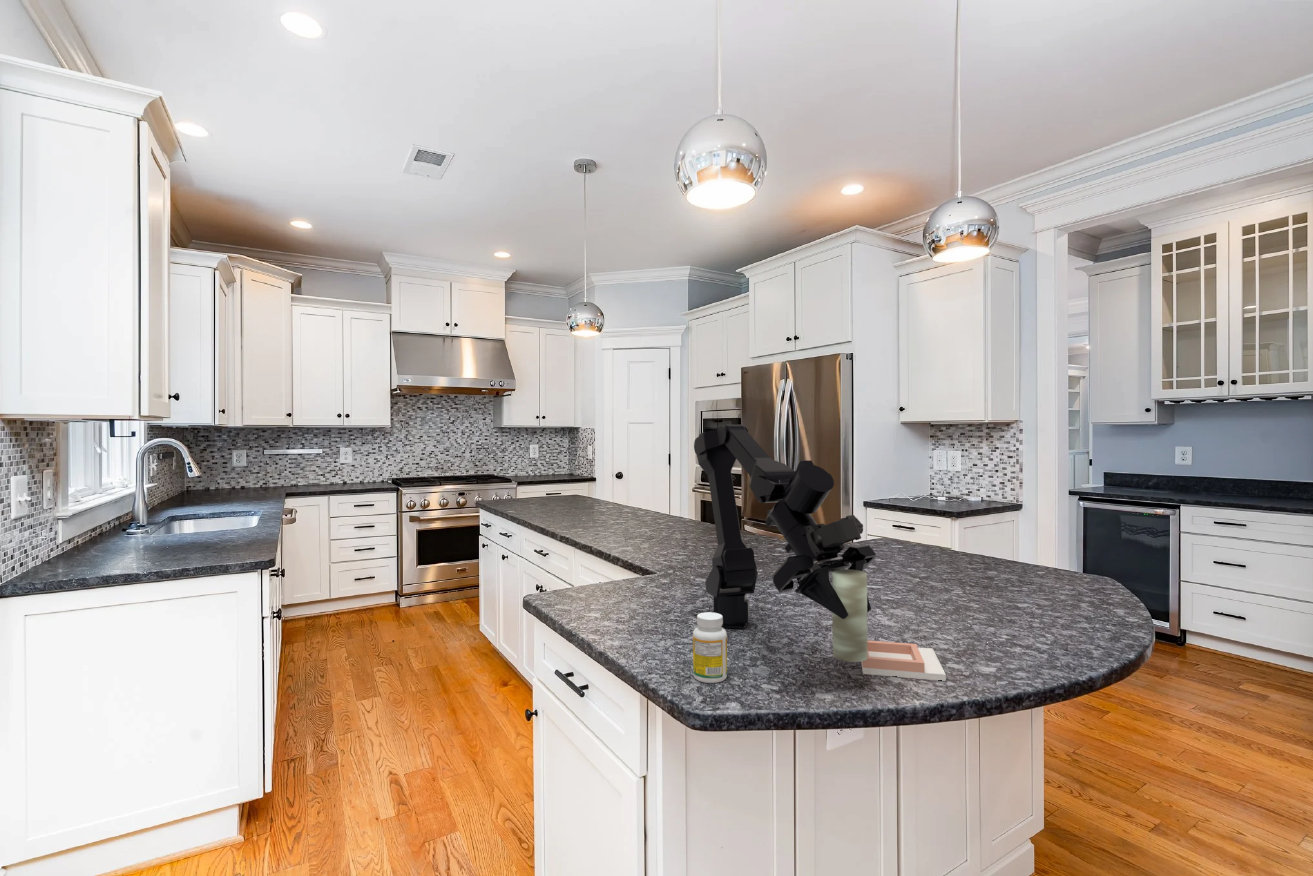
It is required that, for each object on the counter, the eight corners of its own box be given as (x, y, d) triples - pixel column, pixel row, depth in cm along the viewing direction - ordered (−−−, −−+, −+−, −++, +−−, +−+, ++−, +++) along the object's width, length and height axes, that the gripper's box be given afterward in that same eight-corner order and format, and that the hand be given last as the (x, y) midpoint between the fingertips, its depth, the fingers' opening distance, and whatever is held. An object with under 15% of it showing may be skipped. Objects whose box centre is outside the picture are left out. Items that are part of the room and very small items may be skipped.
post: (833, 660, 91) (832, 575, 91) (832, 649, 96) (831, 568, 96) (868, 663, 90) (868, 577, 90) (866, 651, 95) (865, 570, 95)
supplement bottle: (714, 686, 93) (713, 623, 93) (685, 678, 96) (685, 616, 96) (734, 676, 97) (733, 614, 97) (706, 668, 101) (705, 609, 101)
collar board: (862, 673, 97) (862, 658, 97) (858, 648, 109) (858, 634, 109) (945, 681, 94) (945, 664, 94) (932, 654, 106) (932, 639, 106)
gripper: (786, 503, 91) (848, 593, 82) (865, 495, 102) (928, 574, 93) (749, 548, 97) (803, 637, 88) (827, 536, 108) (883, 614, 99)
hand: (857, 614), depth 92 cm, fingers closed on post, 5 cm apart
